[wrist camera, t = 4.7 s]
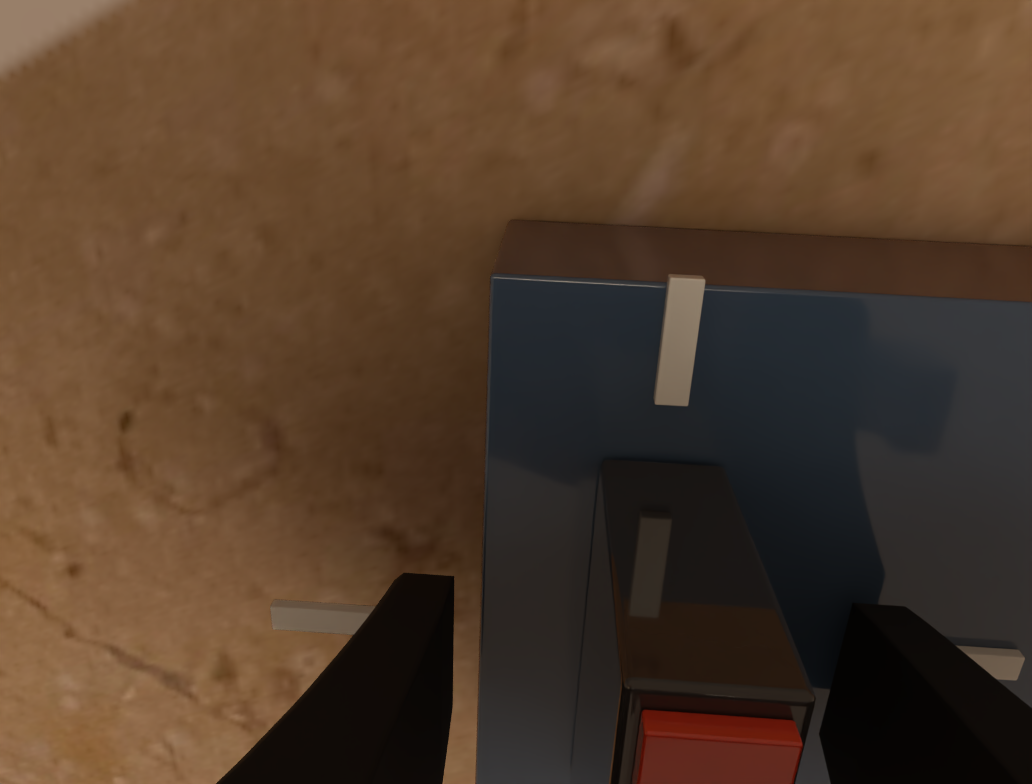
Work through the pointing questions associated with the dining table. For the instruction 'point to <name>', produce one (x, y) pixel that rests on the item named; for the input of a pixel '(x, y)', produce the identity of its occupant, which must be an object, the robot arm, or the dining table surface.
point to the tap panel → (748, 446)
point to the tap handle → (683, 640)
